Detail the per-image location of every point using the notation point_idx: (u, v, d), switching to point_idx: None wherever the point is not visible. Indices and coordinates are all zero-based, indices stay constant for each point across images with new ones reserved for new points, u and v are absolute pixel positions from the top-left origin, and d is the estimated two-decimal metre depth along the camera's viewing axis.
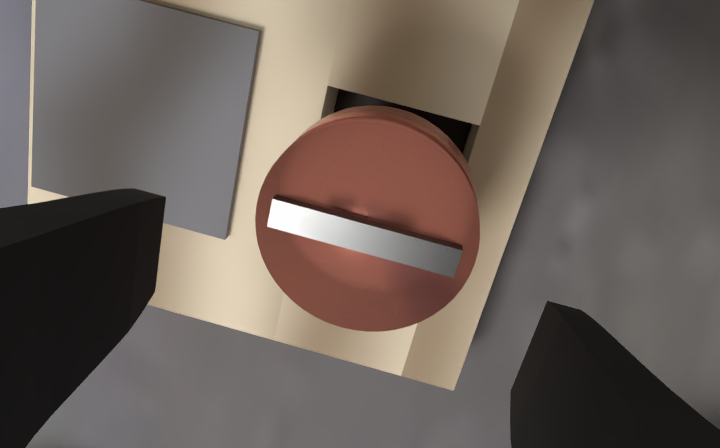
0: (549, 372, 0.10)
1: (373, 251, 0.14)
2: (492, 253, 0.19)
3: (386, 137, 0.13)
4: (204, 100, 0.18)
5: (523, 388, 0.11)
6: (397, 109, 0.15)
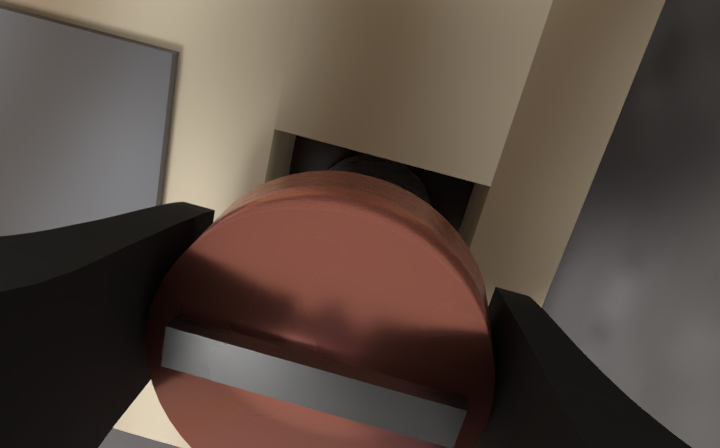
0: None
1: (327, 406, 0.09)
2: None
3: (343, 234, 0.08)
4: (102, 149, 0.13)
5: None
6: (366, 177, 0.10)
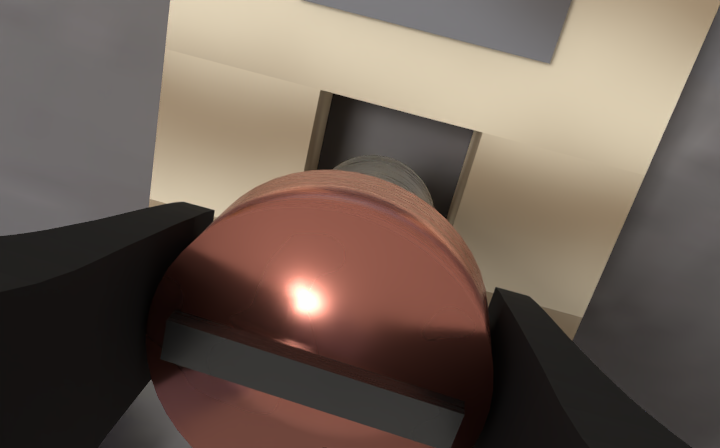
0: (492, 356, 0.10)
1: (324, 405, 0.09)
2: None
3: (347, 234, 0.08)
4: None
5: None
6: (371, 178, 0.10)
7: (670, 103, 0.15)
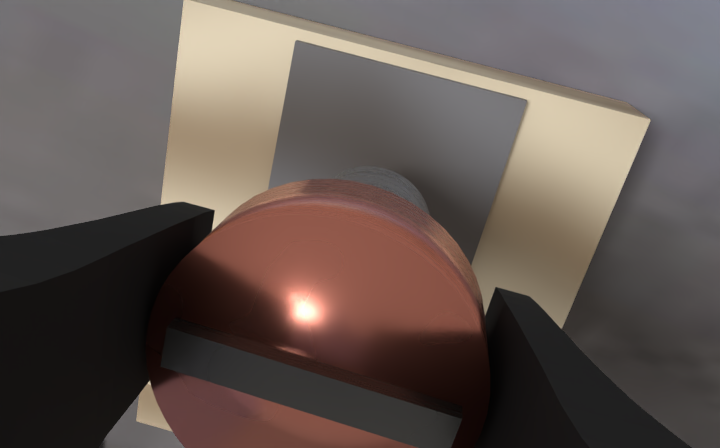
0: (492, 356, 0.10)
1: (323, 411, 0.09)
2: None
3: (345, 241, 0.08)
4: None
5: None
6: (368, 187, 0.10)
7: None
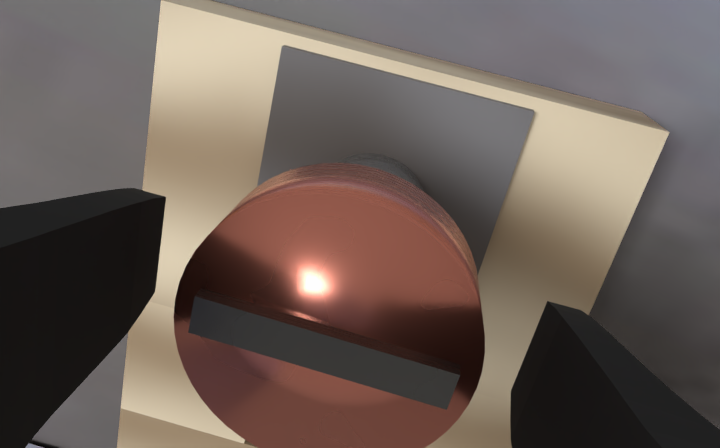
0: (549, 372, 0.10)
1: (335, 371, 0.10)
2: None
3: (356, 216, 0.09)
4: None
5: (523, 388, 0.11)
6: (374, 169, 0.11)
7: None
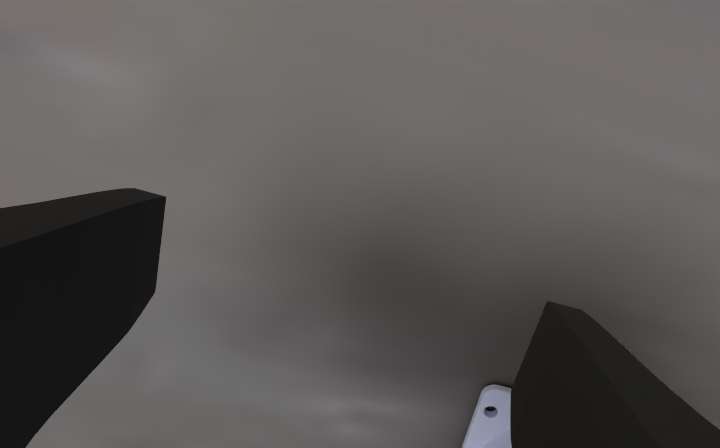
0: (549, 372, 0.10)
1: None
2: None
3: None
4: None
5: (523, 388, 0.11)
6: None
7: None
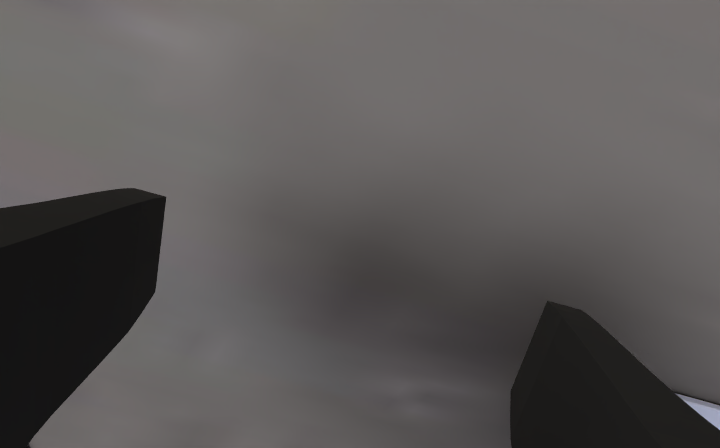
0: (549, 372, 0.10)
1: None
2: None
3: None
4: None
5: (523, 388, 0.11)
6: None
7: None
